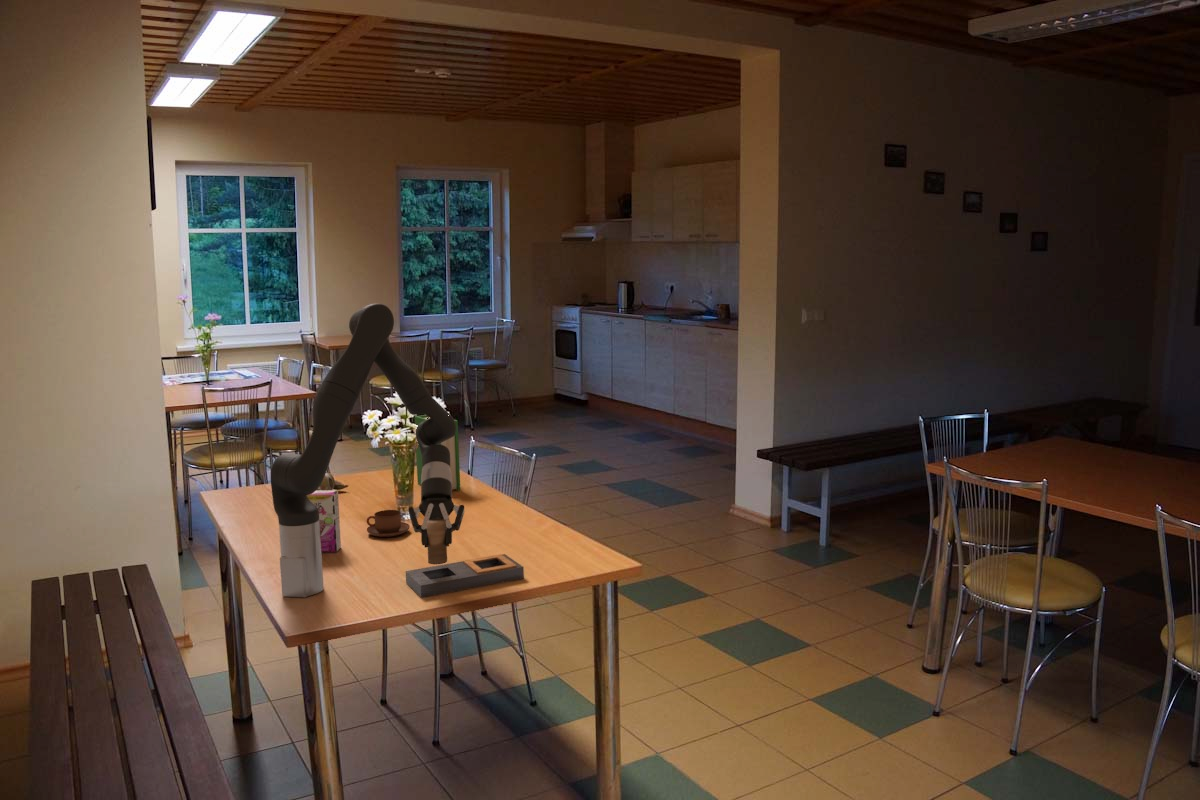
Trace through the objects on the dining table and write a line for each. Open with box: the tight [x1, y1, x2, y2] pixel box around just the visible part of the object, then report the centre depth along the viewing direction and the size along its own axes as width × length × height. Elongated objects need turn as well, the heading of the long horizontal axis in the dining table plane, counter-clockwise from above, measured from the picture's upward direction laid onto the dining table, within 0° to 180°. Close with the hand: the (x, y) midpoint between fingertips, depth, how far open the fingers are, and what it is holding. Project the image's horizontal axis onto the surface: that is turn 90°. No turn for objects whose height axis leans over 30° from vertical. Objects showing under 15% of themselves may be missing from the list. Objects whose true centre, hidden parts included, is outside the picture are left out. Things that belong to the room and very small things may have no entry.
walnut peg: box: [427, 519, 448, 565], centre depth 232 cm, size 4×4×10 cm
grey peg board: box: [405, 553, 525, 599], centre depth 236 cm, size 26×12×3 cm, turn 118°
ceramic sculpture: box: [316, 471, 349, 491], centre depth 327 cm, size 11×9×15 cm
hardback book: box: [414, 414, 461, 492], centre depth 330 cm, size 18×7×24 cm, turn 36°
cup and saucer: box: [366, 509, 411, 538], centre depth 278 cm, size 12×12×6 cm
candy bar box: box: [307, 489, 342, 554], centre depth 262 cm, size 11×5×16 cm, turn 92°
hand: (436, 545), depth 230 cm, fingers closed on walnut peg, 4 cm apart
